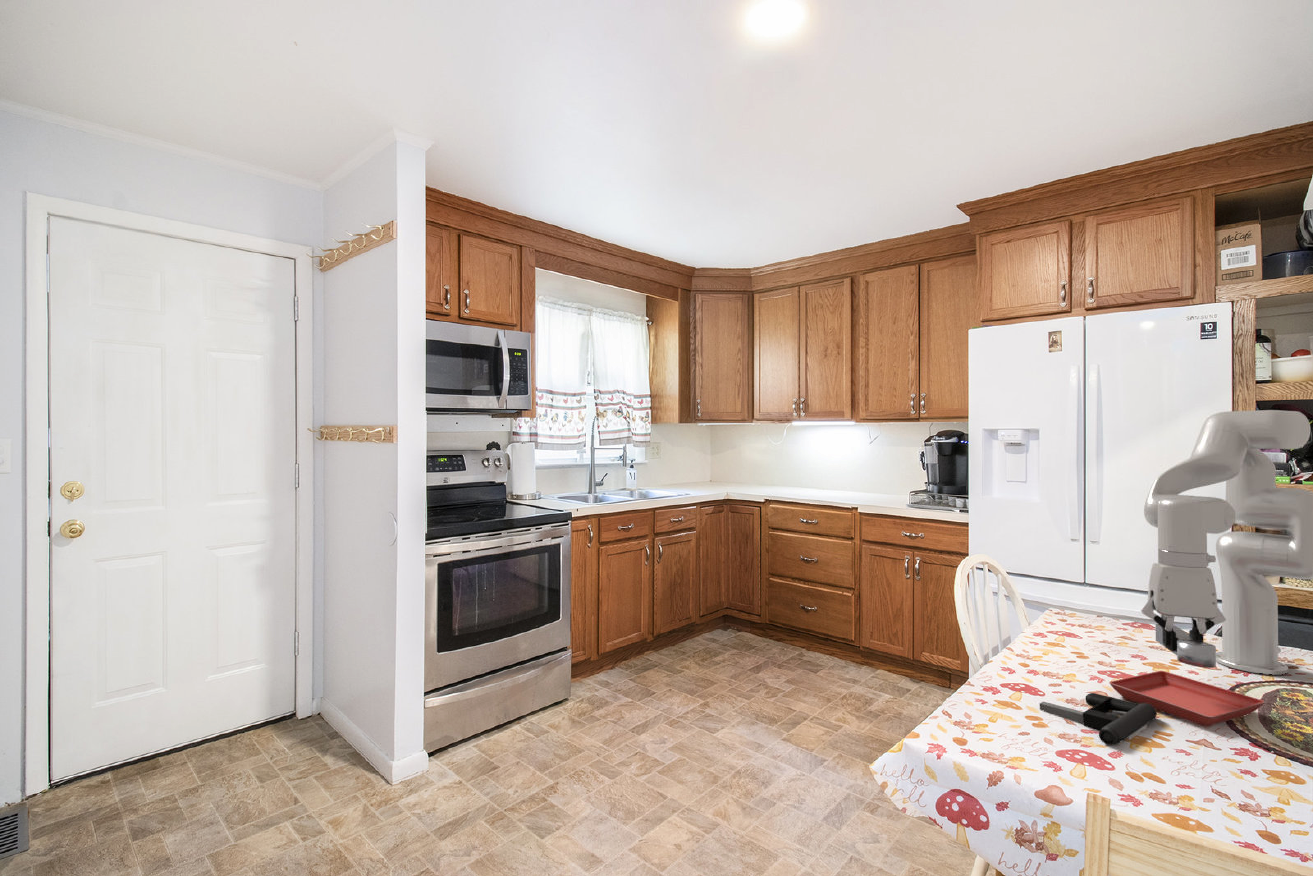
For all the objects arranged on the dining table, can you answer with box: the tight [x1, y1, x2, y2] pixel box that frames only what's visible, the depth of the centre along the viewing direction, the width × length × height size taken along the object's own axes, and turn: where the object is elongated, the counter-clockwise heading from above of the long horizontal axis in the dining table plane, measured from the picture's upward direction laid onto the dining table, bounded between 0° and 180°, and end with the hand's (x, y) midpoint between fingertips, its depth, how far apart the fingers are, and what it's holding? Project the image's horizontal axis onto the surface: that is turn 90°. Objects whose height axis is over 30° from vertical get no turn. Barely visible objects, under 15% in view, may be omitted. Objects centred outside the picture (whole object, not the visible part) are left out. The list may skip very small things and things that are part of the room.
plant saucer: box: [1108, 670, 1266, 727], centre depth 122 cm, size 18×18×3 cm
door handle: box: [1039, 692, 1160, 746], centre depth 116 cm, size 3×20×16 cm
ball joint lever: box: [1155, 623, 1217, 669], centre depth 122 cm, size 16×6×4 cm, turn 160°
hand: (1182, 649), depth 122 cm, fingers closed on ball joint lever, 3 cm apart
